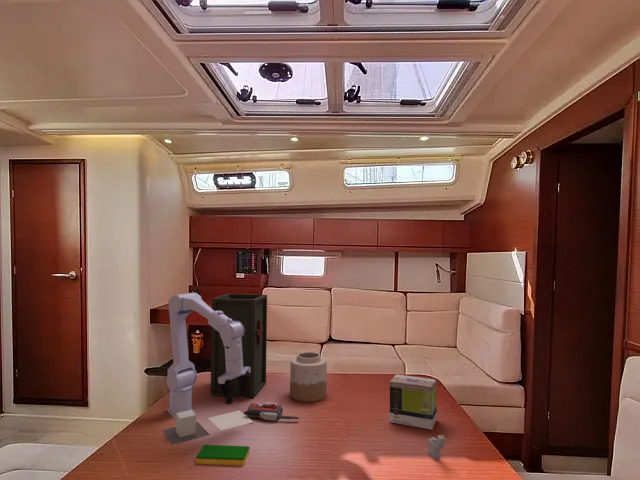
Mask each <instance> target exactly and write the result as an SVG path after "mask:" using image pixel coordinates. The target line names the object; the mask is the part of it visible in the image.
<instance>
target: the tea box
mask: <svg viewBox="0 0 640 480" xmlns="http://www.w3.org/2000/svg"><path fill="white" fill-rule="evenodd" d="M437 407H438V406H437V379H435V378H429V377H428V378H427V377H421V376H412V375H404V374H395V375H394V376H393V378H392V379H391V380H390V381H389V422H390V423H393V424H399V425H404V426H409V427H416V428H419V429H420V428H421V429H426V430H432V431H433V430H434V429H433V428H434V426H435V424H436V421H437V419H438V418H437V414H438V413H437V411H438V410H437V409H438V408H437Z"/></svg>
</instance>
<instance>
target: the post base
mask: <svg viewBox="0 0 640 480" xmlns="http://www.w3.org/2000/svg"><path fill="white" fill-rule="evenodd" d="M161 432H162V433H163V434H164V436H165V437H166V438H167V440H168V442H170V444H171V446H174V445H177V444H181V443H185V442H189V441H192V440H196V439H200V438H204V437H207V436H211V434H210V433H209V432H208V431H207V430H206V429H205V428H204V427H203V426H202V425H201V423H199V422H198V421H196V434H192V435H188V436H184V437H179V435H178V434H177V433H176V426H175V427H174V426H173V427H169V428H166V429H162V430H161Z"/></svg>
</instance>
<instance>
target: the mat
mask: <svg viewBox="0 0 640 480" xmlns="http://www.w3.org/2000/svg"><path fill="white" fill-rule="evenodd" d="M208 420H209V421H210V422H211V423H212V424H213V425H214V426H215V427H216V428H217V429H218V430H219V431H221V432H222V431H224V430H229V429H231V428H237V427H240V426H244V425H252V424H254V423H255V422H254V421H253V420H252V419H251V418H250V417H248V416H247V415H246V414H244V412H242V411H241V410H236V411H231V412H227V413H224V414H220V415H219V414H218V415H214V416H210V417H208Z"/></svg>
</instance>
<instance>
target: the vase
mask: <svg viewBox="0 0 640 480" xmlns="http://www.w3.org/2000/svg"><path fill="white" fill-rule="evenodd" d="M289 363H290V364H289V369H290V370H289V375H290V376H289V396H290V397H291V398H292V399H293V400H295V401H299V402H304V403H308V402H309V403H311V402H319V401H322V400H324V399H325V398H326V397H327V388H328V384H327V383H328V378H327V377H328V368H327V367H328V361H327V359H325V357H322V356H321V354H320V353H319V352H315V351H314V352H313V351H306V352H305V351H304V352H300V353H298V354H297V355H296V356H295V357H293V358H291V360H290V362H289Z"/></svg>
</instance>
